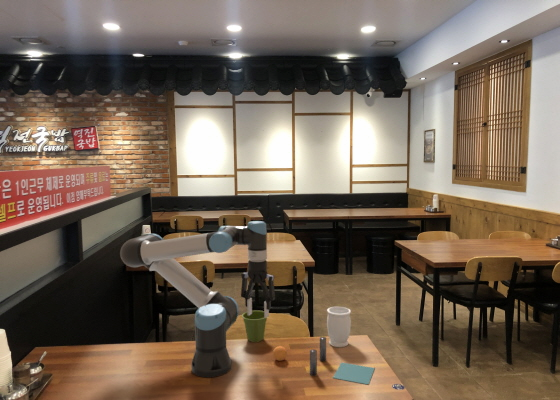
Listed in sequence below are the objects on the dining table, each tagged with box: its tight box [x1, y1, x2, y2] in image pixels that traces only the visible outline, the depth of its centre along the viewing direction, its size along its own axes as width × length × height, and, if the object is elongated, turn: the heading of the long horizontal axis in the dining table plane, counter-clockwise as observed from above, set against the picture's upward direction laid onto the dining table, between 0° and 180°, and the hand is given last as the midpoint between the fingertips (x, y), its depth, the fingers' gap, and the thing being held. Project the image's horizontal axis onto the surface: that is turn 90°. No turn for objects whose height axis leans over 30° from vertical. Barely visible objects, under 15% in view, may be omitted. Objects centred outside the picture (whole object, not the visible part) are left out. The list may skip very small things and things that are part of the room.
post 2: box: [319, 336, 327, 362], centre depth 170 cm, size 3×3×9 cm
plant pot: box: [241, 310, 268, 343], centre depth 191 cm, size 12×12×11 cm
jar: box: [326, 306, 352, 348], centre depth 185 cm, size 11×10×15 cm
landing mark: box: [332, 362, 375, 386], centre depth 159 cm, size 13×13×1 cm
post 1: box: [309, 349, 318, 377], centre depth 158 cm, size 3×3×9 cm
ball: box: [272, 345, 288, 362], centre depth 170 cm, size 6×6×6 cm
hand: (258, 315), depth 173 cm, fingers open, 7 cm apart
